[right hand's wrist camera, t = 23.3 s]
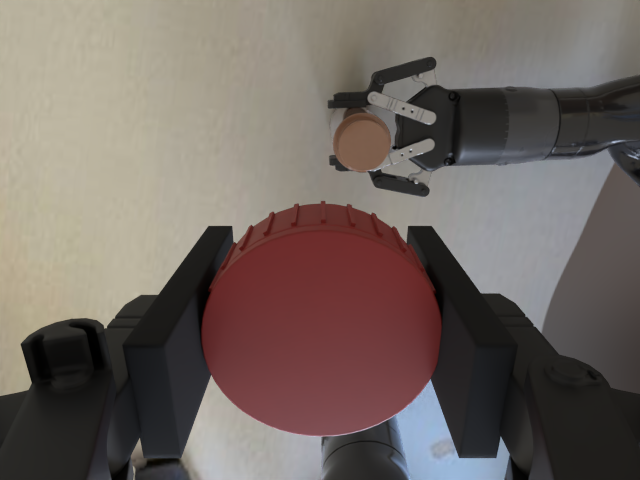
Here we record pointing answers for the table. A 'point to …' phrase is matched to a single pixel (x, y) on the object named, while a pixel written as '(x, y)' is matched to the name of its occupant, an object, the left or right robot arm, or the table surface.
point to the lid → (321, 322)
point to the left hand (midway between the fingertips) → (329, 132)
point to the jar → (359, 138)
